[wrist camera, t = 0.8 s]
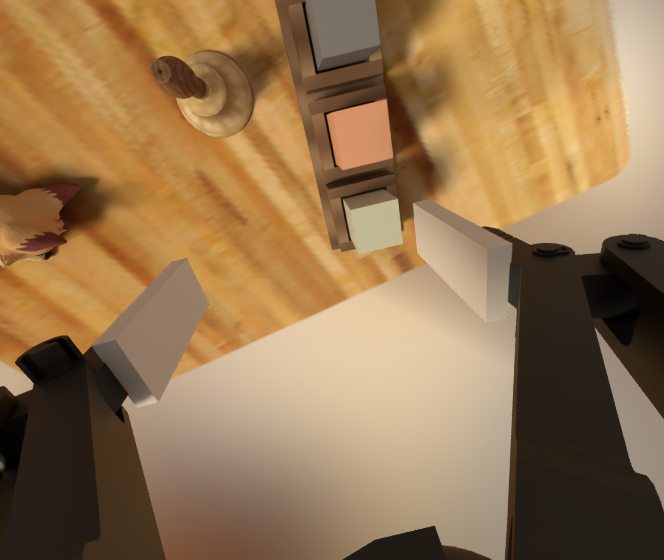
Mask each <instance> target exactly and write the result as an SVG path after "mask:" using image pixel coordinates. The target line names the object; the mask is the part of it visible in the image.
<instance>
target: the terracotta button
mask: <svg viewBox="0 0 664 560" xmlns="http://www.w3.org/2000/svg"><path fill="white" fill-rule="evenodd" d="M326 116H327V121H328V126H329V132H330V137H331V142H332V147H333V152H334V157H335V162H336V165H338V166H339V167H340V168H341V169H342V170H346V169H350V168H354V167H358V166H362V165H366V164H370V163H375V162H379V161H383V160H387V159H391V158H393V152H392V143H391V134H390V125H389V116H388V107H387V99H386V100H382V101H377V102H373V103H369V104H365V105H361V106H357V107H353V108H349V109H344V110H340V111H336V112H332V113H330V114H328V115H326Z"/></svg>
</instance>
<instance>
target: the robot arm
mask: <svg viewBox="0 0 664 560" xmlns="http://www.w3.org/2000/svg"><path fill="white" fill-rule="evenodd" d="M413 210H414V221H415V232H416V242H417V253H418V254H419V255H420V256H421V257H422V258H423V259H424V260H425V261H426V262H427V263H428V264H429V265H430V266H431V267H432V268H433V269H434V270H435V271H436V272H437V273H438V275H439V276H441V278H443V280H444V281H445V282H446V283H447V284H448V285H449V286H450V287H451V288H452V289H453V290H454V291H455V292H456V293H457V294H458V295H459V296H460V297H461V298H462V299H463V300H464V301H465V302H466V303H467V304H468V305H469V306H470V307H471V308H472V309H473V310H474V311H475V312H476V313H477V314H478V315H479V316H480V317H481V318H482V319H483V320H484V321H485V322H486V323H488V322H493V321H497V320H501V319H505V318H508V308H509V303H510V304H511V305H513V306H514V307H515V308H516V309H517V319H516V332H515V337H516V341H515V364H514V385H513V409H512V429H511V451H510V473H509V474H510V475H509V495H508V517H507V535H506V536H507V537H506V550H505V560H664V511H663V508H662V504H661V501H660V499H659V496H658V494H657V491H656V490H655V486H654V484H653V483H652V482H651V481H650V479H649V478H648V477H647V476H646V475H643V474H639V473H636V472H635V471H634V470H633V468H632V465H631V463H630V459H629V456H628V452H627V448H626V444H625V440H624V437H623V433H622V429H621V425H620V422H619V418H618V414H617V410H616V406H615V403H614V399H613V395H612V391H611V388H610V384H609V380H608V376H607V373H606V369H605V365H604V361H603V357H602V354H601V350H600V346H599V342H598V338H597V335H596V331H595V328H596V329H597V330H598V332H599V333H600V334H601V336H602V337H603V338H604V340H605V341H606V342H607V344H608V345H609V346H610V348H611V349H612V350H613V352H614V353H615V354H616V356H617V357H618V358H619V359H620V361H621V362H622V364H623V365H624V366H625V368H626V369H627V370H628V372H629V373H630V375H631V376H632V377H633V378H634V380H635V381H636V383H637V384H638V385H639V387H640V388H641V389H642V391H643V392H644V393H645V395H646V396H647V397H648V399H649V400H650V401H651V402H652V404H653V405H654V407H655V408H656V409H657V411H658V412H659V413H660V415H661V416H662V417H663V419H664V241H662V240H659V239H657V238H653V237H648V236H646V235H641V234H638V235H637V234H629V235H619V236H613V237H610V238H607V239H605V240H604V242H603V244H602V249H601V253H596V254H583V255H575V252H574V251H573V249H571V248H570V247H567V246H565V245H560V244H555V243H554V244H553V243H539V244H533V245H530V244H527V243H525V242H523V241H521V240H519V239H517V238H515V237H514V238H513V236H511V235H509V234H506V233H505V232H503V231H501V230H499V229H496V228H491V227H486V226H484V227H480V226H478V225H476V224H474V223H472V222H470V221H468V220H466V219H464V218H463V217H461V216H459V215H457V214H455V213H453V212H451V211H449V210H447V209H445V208H444V207H442V206H440V205H438V204H436V203H434V202H432V201H430V200H428V199H427V200H423V201H419V202H415V203H413ZM208 305H209V303H208V301H207V299H206V297H205V295H204V293H203V291H202V289H201V287H200V284H199V282H198V280H197V278H196V276H195V274H194V272H193V270H192V268H191V266H190V263H189V261H188V259H187V258H185V259H181V260H177V261H173V262H171V263H170V264H169V265H168V266H167V267H166V268H165V270H164V271H163V272H162V273H161V274H160V275H159V276H158V277H157V278H156V279H155V280H154V281H153V282H152V283H151V284H150V285H149V286H148V287H147V288H146V289H145V290H144V291H143V292H142V293H141V295H140V296H139V297H138V298H137V299H136V300H135V301H134V302H133V303H132V304H131V305H130V306H129V307H128V308H127V309H126V310H125V311H124V312H123V313H122V314H121V315H120V316H119V317H118V318H117V320H116V321H115V322H114V323H113V324H112V325H111V326H110V327H109V328H108V329H107V330H106V331H105V332H104V333H103V334H102V335H101V336H100V337H99V338H98V339H97V340H96V341H95V342H94V343H93V344H92V346H91V347H90V348H89V349H88V350H87V351H86V352H85V353H84V354H83V355H82V353H81V352H80V351H79V349H78V348H77V347H76V345H75V344H74V343H73V342H72V340H71V339H70V338H69V337H68V336H58V337H54V338H52V339H49V340H47V341H44V342H42V343H40V344H38V345H36V346H34V347H33V348H31V349H29V350H28V351H26V352H25V353H24V354H22V355H21V356H20V357H19V358H18V359H17V360H16V362H15V364H16V365H17V366H18V367H19V368H20V369H21V370H22V371H23V372H24V373H25V374H26V375H27V377H28V378H29V379H30V380H31V381H32V382H33V383H34V385H33V389H32V390H30V391H27V392H25V393H22V394H20V395H17V396H14V395H13V394H12V393H11V392H10V391H8V389H7V388H6V387H5V386H1V387H0V560H166V559H165V555H164V551H163V547H162V543H161V540H160V536H159V532H158V528H157V524H156V520H155V516H154V512H153V508H152V505H151V501H150V497H149V493H148V489H147V486H146V481H145V478H144V474H143V470H142V466H141V462H140V459H139V454H138V450H137V447H136V443H135V439H134V435H133V431H132V427H131V423H130V420H129V416H128V413H127V411H126V410H125V409H124V407H123V406H122V403H123V402H124V400H125V399H126V397H127V396H129V397H130V399H131V400H132V401H133V403H134V404H135V406H136V407H140V406H145V405H149V404H153V403H157V402H159V400H160V398H161V396H162V394H163V392H164V390H165V388H166V386H167V384H168V382H169V381H170V379H171V377H172V375H173V373H174V371H175V369H176V367H177V365H178V363H179V361H180V359H181V357H182V355H183V353H184V351H185V349H186V347H187V345H188V344H189V342H190V340H191V338H192V336H193V334H194V332H195V330H196V328H197V326H198V324H199V322H200V320H201V318H202V316H203V314H204V312H205V310H206V308H207V307H208ZM594 326H595V327H594ZM343 560H491V559H489V558H487V557H485V556H482V555H480V554H477V553H475V552H472V551H469V550H465V549H461V548H457V547H452V546H444V545H441V542H440V539H439V536H438V534H437V531H436V528H435V526H431V527H427V528H423V529H419V530H414V531H410V532H406V533H402V534H398V535H393V536H389V537H385V538H381V539H377V540H374V541H372V542H371V543H369V544H367V545H366V546H364V547H362V548H361V549H359V550H358V551H356V552H354V553H353V554H351V555H349V556H348V557H346V558H344V559H343Z"/></svg>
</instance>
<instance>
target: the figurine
mask: <svg viewBox="0 0 664 560" xmlns="http://www.w3.org/2000/svg"><path fill="white" fill-rule="evenodd" d="M80 189H81V186H79V185H77V184H55V185H50V186H48V187H45V188H37V189H29V190H25V191H23V192H21V193H20V194H18V195H16V196H13V195H0V267H1V266H2V267H6V265H8V266H9V265H11V264H12V263H14V262H15V261H18V260H21V259H26V260H32V261H40V260H44V259H45V260H47V259H49V258H50V257H51V252H50V250H52V249H53V248H54V247H55V246H59V245H63V244H65V243H67V240H65V239H64V238H62V237H60V236H59V235H60V233H62V232H64V231H67V230H66V229H62V228H63V226H64V223H63V220H60V215H59V212H60V210H61V209H62V208H63V206H64V205H65V204H66V203H67V202H68V201H69V200H70V199H71V198H72V197H74V195H75V194H76V193H77V192H78V191H79V190H80Z"/></svg>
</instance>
